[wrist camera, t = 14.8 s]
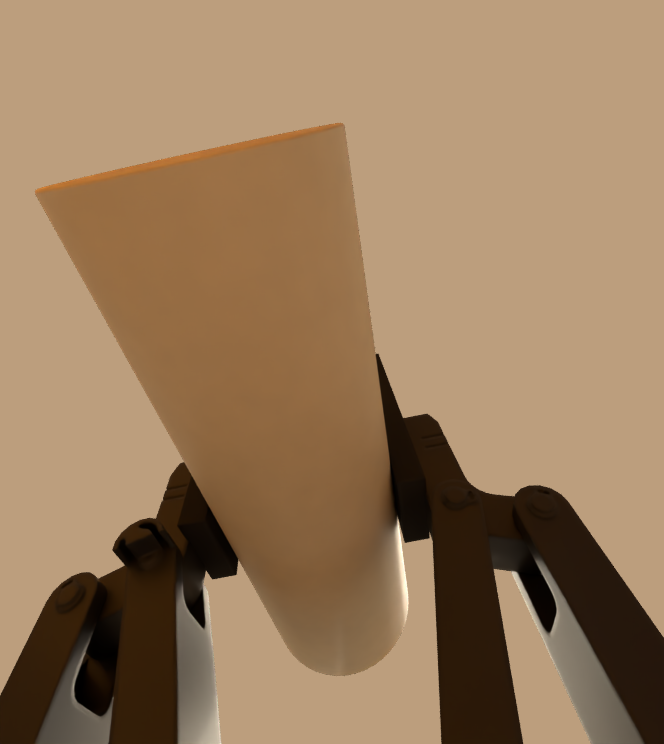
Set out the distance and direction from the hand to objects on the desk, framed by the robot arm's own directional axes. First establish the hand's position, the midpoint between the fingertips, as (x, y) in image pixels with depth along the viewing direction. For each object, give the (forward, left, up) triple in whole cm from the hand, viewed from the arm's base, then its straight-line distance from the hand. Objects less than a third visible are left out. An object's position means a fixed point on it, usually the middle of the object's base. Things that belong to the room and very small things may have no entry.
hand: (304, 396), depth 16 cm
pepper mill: (0, +5, -9) cm, 11 cm away
